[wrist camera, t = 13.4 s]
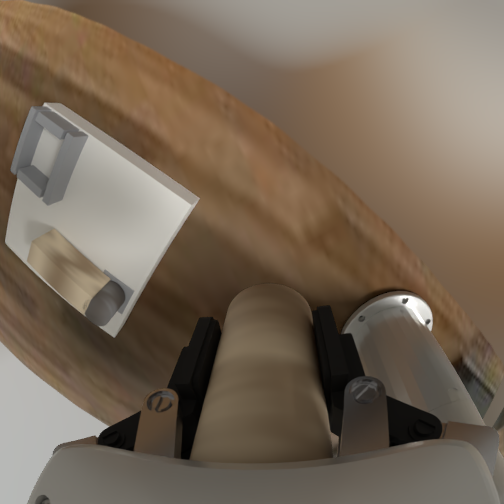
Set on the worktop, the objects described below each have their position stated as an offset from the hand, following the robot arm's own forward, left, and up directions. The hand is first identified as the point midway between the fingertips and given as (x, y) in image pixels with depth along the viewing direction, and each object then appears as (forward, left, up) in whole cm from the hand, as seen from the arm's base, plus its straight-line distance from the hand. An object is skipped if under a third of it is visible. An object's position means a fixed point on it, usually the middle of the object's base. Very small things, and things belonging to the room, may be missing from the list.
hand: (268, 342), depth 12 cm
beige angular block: (+14, +15, -14) cm, 25 cm away
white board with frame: (+18, +12, -17) cm, 27 cm away
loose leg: (0, 0, -2) cm, 2 cm away
